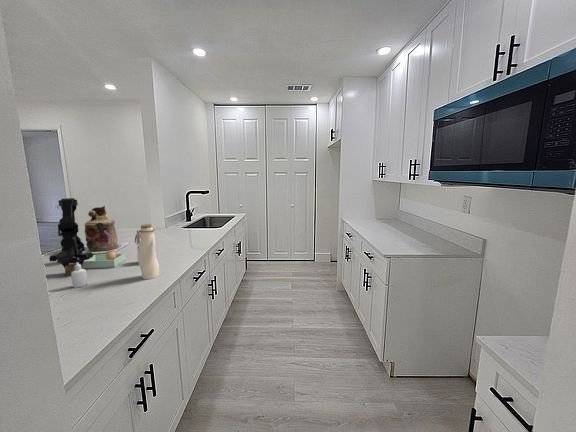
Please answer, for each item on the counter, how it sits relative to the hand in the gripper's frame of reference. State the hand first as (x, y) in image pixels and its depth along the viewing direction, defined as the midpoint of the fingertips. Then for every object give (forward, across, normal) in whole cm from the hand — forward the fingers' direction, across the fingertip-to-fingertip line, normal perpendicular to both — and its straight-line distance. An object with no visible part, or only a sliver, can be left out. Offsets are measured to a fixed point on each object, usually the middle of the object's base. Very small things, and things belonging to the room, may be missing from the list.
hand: (73, 271), depth 147 cm
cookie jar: (+1, -9, +48) cm, 49 cm away
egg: (0, +13, +14) cm, 19 cm away
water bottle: (+1, +43, -10) cm, 44 cm away
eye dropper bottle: (+1, +14, -18) cm, 23 cm away
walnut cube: (+1, 0, 0) cm, 1 cm away
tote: (+1, +9, +14) cm, 16 cm away
